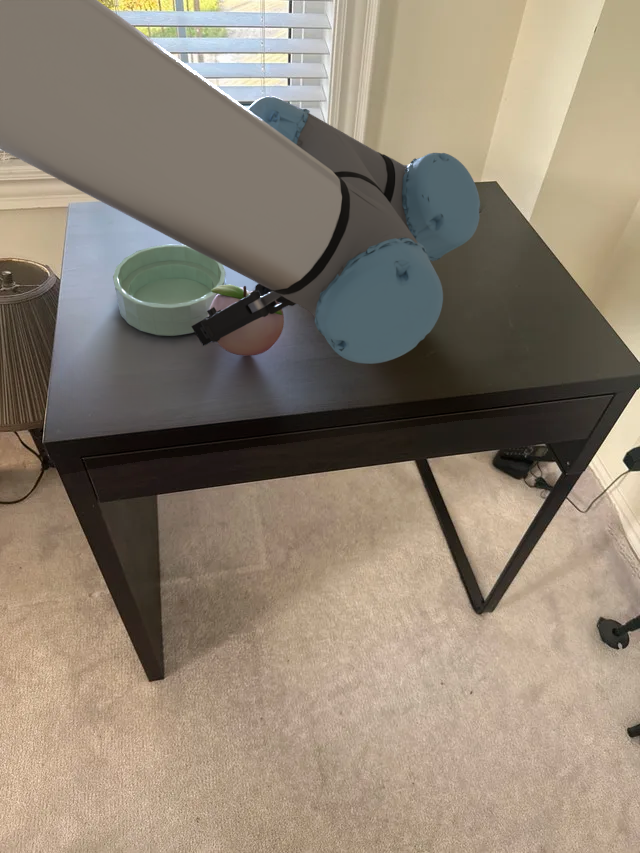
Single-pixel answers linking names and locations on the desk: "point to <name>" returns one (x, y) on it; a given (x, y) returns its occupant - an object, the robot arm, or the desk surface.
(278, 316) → the decorative fruit
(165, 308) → the bowl
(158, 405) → the desk surface
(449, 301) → the desk surface
